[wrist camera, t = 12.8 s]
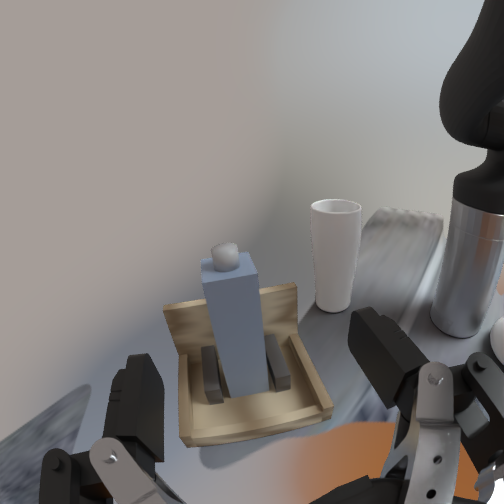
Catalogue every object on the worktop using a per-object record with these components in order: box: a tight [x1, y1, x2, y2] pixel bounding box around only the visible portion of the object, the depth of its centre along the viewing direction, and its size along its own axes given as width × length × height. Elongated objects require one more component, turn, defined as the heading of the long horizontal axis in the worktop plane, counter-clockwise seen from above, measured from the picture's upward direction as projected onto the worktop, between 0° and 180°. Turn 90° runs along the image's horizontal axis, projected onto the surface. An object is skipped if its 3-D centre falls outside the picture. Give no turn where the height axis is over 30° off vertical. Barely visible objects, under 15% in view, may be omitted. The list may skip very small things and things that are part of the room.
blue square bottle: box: [201, 243, 269, 398], centre depth 23 cm, size 4×4×16 cm
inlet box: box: [163, 282, 334, 448], centre depth 24 cm, size 14×12×9 cm
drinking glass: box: [310, 199, 362, 313], centre depth 36 cm, size 7×7×15 cm
